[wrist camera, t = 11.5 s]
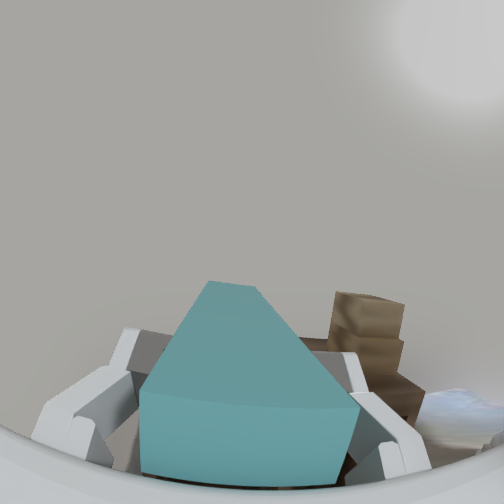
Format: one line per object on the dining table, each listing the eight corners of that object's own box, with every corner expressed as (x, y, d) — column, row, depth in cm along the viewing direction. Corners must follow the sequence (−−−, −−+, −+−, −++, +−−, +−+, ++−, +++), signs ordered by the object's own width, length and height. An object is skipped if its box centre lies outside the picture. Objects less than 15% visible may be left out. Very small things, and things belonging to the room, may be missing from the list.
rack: (335, 573, 18) (443, 314, 19) (152, 571, 17) (149, 281, 17) (307, 498, 34) (359, 291, 35) (169, 490, 33) (185, 268, 33)
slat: (335, 483, 5) (360, 407, 5) (141, 471, 5) (139, 389, 5) (251, 309, 27) (254, 286, 27) (205, 303, 27) (208, 280, 27)
